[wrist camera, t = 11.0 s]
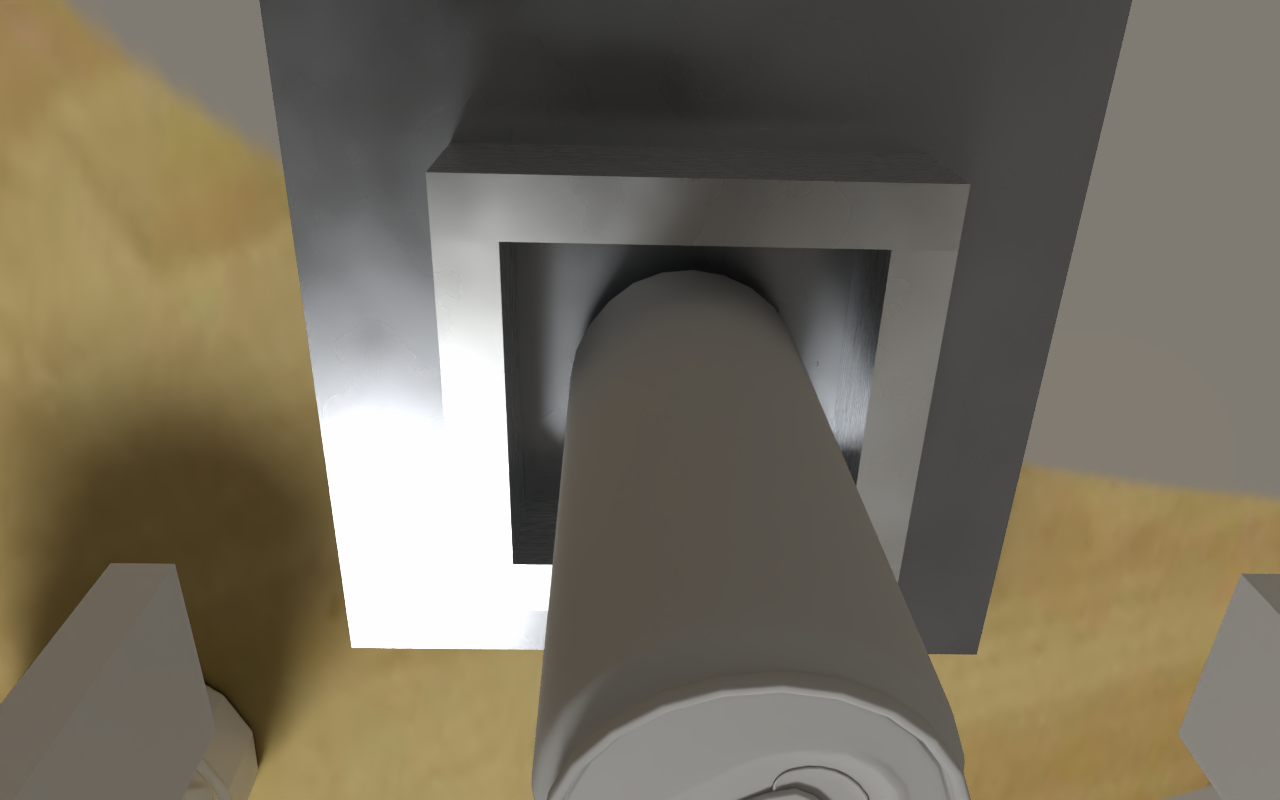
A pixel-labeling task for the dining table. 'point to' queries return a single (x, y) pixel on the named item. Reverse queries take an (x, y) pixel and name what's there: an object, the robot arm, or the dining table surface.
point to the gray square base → (673, 257)
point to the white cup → (225, 757)
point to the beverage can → (722, 578)
